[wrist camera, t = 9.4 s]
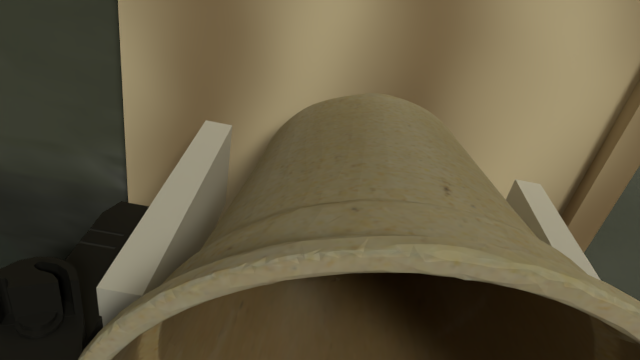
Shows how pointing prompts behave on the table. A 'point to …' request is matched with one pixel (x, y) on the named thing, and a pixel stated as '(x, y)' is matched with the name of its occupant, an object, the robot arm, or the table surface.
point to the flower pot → (372, 260)
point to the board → (395, 84)
